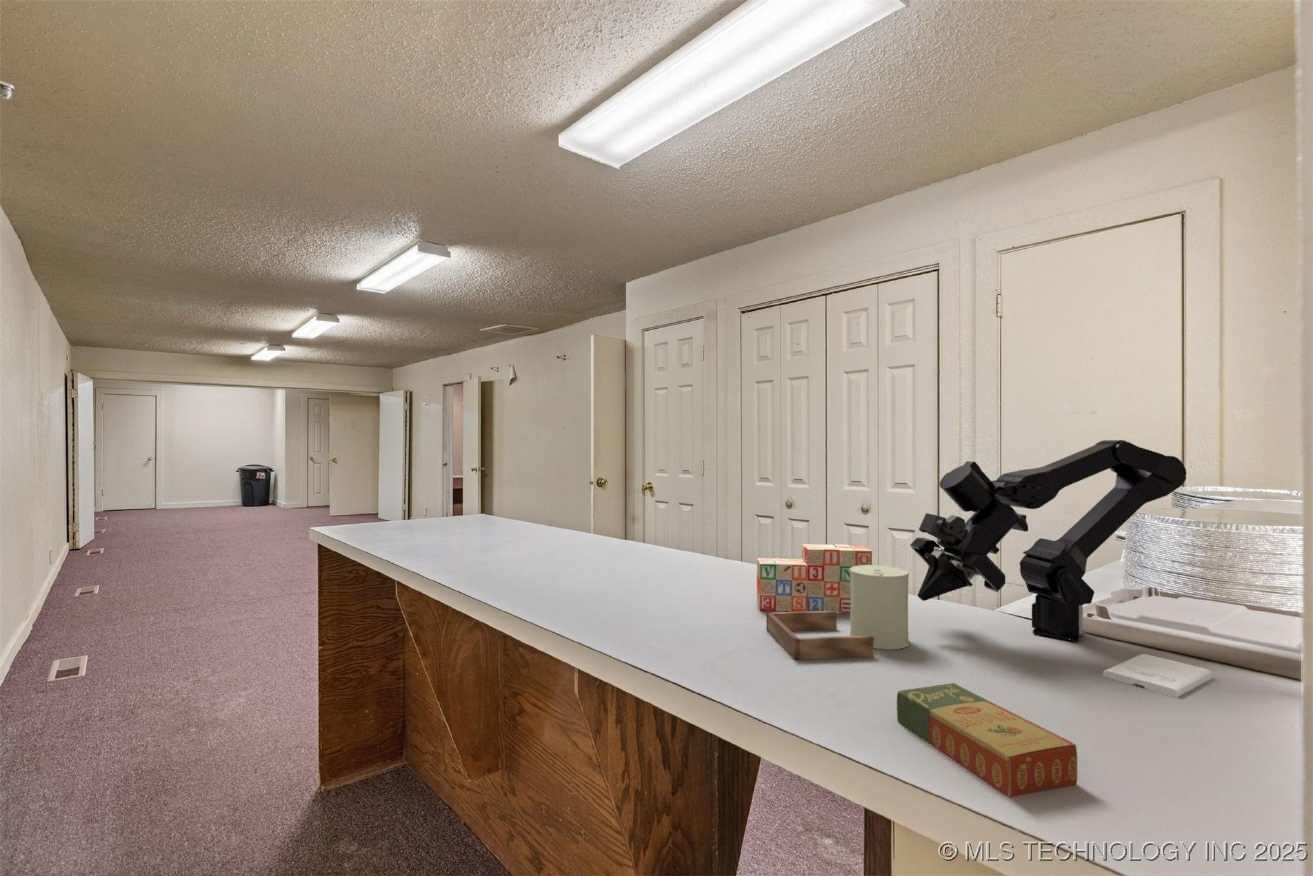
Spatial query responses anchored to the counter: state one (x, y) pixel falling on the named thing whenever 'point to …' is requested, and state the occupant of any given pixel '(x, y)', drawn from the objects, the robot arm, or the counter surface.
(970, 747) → the carton
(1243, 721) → the counter surface
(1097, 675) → the counter surface
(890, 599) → the can
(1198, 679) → the external hard drive
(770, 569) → the stack of blocks
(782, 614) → the walnut bay
